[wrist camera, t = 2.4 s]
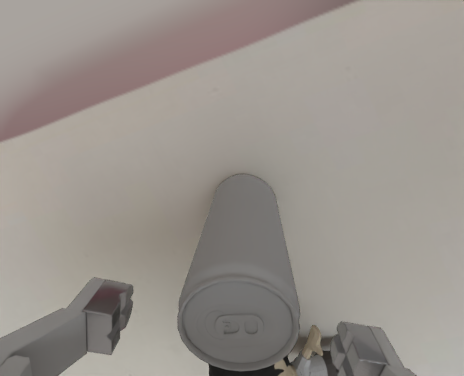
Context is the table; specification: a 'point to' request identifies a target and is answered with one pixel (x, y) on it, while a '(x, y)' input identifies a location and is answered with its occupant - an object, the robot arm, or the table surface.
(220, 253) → the beverage can
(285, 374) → the figurine
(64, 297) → the table surface
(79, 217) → the table surface
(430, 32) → the table surface
